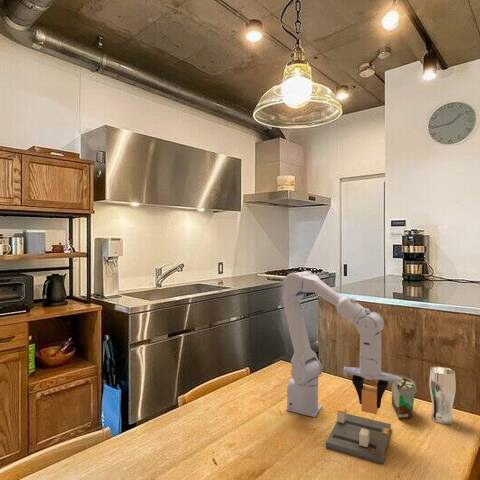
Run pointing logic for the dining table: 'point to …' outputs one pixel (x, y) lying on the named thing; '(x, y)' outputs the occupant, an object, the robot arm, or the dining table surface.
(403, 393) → the food container
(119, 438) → the dining table surface
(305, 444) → the dining table surface
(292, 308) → the robot arm
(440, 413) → the beer glass
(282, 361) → the dining table surface
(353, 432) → the panel
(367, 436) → the block
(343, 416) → the block
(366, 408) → the block
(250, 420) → the dining table surface
